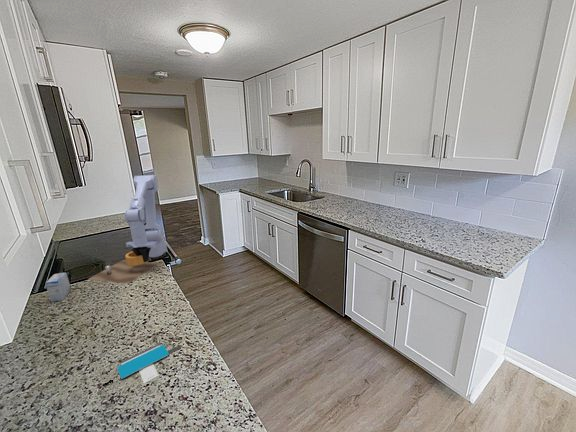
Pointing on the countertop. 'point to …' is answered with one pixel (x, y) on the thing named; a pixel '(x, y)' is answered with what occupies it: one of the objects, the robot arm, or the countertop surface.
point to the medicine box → (58, 287)
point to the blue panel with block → (145, 362)
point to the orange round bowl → (134, 259)
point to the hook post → (108, 270)
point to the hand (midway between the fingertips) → (144, 261)
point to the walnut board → (123, 272)
